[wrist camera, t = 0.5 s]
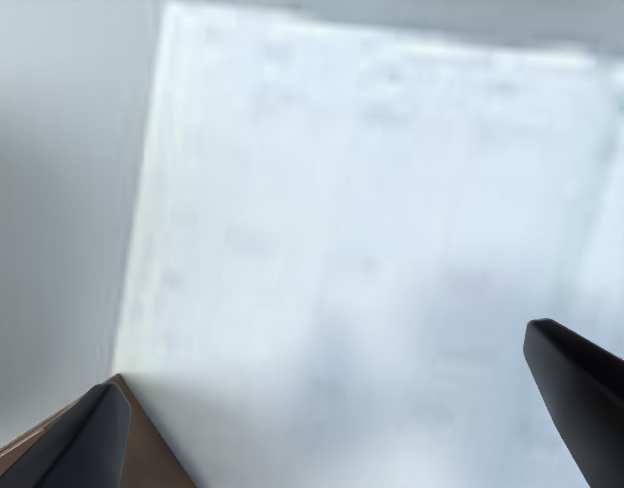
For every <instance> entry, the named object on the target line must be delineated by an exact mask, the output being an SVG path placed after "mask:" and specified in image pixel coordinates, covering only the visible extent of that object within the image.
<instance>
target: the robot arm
mask: <svg viewBox="0 0 624 488" xmlns="http://www.w3.org/2000/svg"><path fill="white" fill-rule="evenodd" d="M523 352H524V356H525V359H526V361H527V364H528V366H529V368H530V370H531V373H532V375H533V377H534V380H535V382H536V384H537V386H538V389H539V391H540V393H541V395H542V398H543V400H544V402H545V405H546V407H547V409H548V411H549V414H550V416H551V418H552V420H553V422H554V424H555V426H556V428H557V430H558V432H559V434H560V436H561V438H562V439H563V441H564V443H565V445H566V446H567V448H568V450H569V451H570V453H571V455H572V457H573V458H574V460H575V462H576V464H577V465H578V467H579V469H580V471H581V472H582V474H583V476H584V478H585V479H586V481H587V483H588V485H589V486H590V488H624V360H622V359H620V358H619V357H617V356H615V355H613V354H612V353H610V352H608V351H606V350H605V349H603V348H601V347H600V346H598V345H596V344H594V343H593V342H591V341H589V340H587V339H586V338H584V337H582V336H580V335H579V334H577V333H575V332H573V331H572V330H570V329H568V328H566V327H565V326H563V325H561V324H559V323H558V322H556V321H554V320H552V319H549V318H543V319H537V320H531V321H529V322H528V324H527V328H526V334H525V340H524V346H523ZM130 419H131V407H130V404H129V402H128V401H127V399H126V398H125V396H124V394H123V393H122V391H121V389H120V388H119V386H118V385H117V384H116V383H114V382H110V383H103V384H97V385H95V386H94V387H92V388H91V389H90V390H89V391H88V392H87V393H86V394H85V395H84V396H83V397H82V398H81V399H80V400H79V401H78V402H77V403H76V404H75V405H73V406H72V407H71V408H70V409H69V410H68V411H67V412H66V413H65V414H64V415H63V416H62V417H61V418H60V419H59V420H58V421H57V422H56V423H55V424H54V425H53V426H52V427H51V428H50V429H49V430H47V431H46V432H45V433H44V434H43V435H42V436H41V437H40V438H39V439H38V440H37V441H36V442H35V443H34V444H33V445H32V446H31V447H30V448H29V449H28V450H27V451H26V452H25V453H24V454H23V455H22V456H20V457H19V458H18V459H17V460H16V461H15V462H14V463H13V464H12V465H11V466H10V467H9V468H8V469H7V470H6V471H5V472H4V473H3V474H2V475H1V476H0V488H119V483H120V478H121V473H122V467H123V461H124V455H125V449H126V443H127V437H128V431H129V425H130Z"/></svg>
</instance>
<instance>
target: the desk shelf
mask: <svg viewBox="0 0 624 488" xmlns="http://www.w3.org/2000/svg"><path fill="white" fill-rule="evenodd" d="M110 382H114V383H116V384H117V385H118V386H119V388H120V389H121V391H122V393H123V394H124V396H125V398H126V399H127V401H128V402H129V404H130V407H131V419H130V425H129V431H128V437H127V443H126V449H125V455H124V461H123V467H122V473H121V478H120V483H119V488H196V487H195V486H194V484H193V483H192V481H191V480H190V478H189V477H188V475H187V474H186V472H185V471H184V469H183V468H182V466H181V465H180V463H179V462H178V461H177V459H176V458H175V456H174V455H173V453H172V452H171V450H170V449H169V447H168V446H167V444H166V443H165V441H164V440H163V439H162V437H161V436H160V434H159V433H158V431H157V430H156V428H155V427H154V425H153V424H152V422H151V421H150V419H149V418H148V416H147V415H146V414H145V412H144V411H143V409H142V408H141V406H140V405H139V403H138V402H137V400H136V399H135V397H134V396H133V394H132V393H131V392H130V390H129V389H128V387H127V386H126V384H125V383H124V381H123V380H122V378H121V377H120V375H119V374H115V375H114V376H112V377H111V378H109V379H108V380H106V381H105V382H103V383H110ZM103 383H102V384H103ZM84 395H85V394H84ZM84 395H83V396H84ZM83 396H81V397H80V398H78V399H77V400H75V401H74V402H72V403H71V404H69V405H67V406H66V407H64V408H63V409H61V410H60V411H58V412H57V413H55V414H54V415H52V416H50V417H49V418H47V419H46V420H44V421H43V422H41V423H40V424H38V425H37V426H35V427H33V428H32V429H30V430H29V431H27V432H26V433H24V434H23V435H21V436H20V437H18V438H16V439H15V440H13V441H12V442H10V443H9V444H7V445H6V446H4V447H3V448H1V449H0V476H1V475H2V474H3V473H4V472H5V471H6V470H7V469H8V468H9V467H10V466H11V465H12V464H13V463H14V462H15V461H16V460H17V459H18V458H19V457H20V456H22V455H23V454H24V453H25V452H26V451H27V450H28V449H29V448H30V447H31V446H32V445H33V444H34V443H35V442H36V441H37V440H38V439H39V438H40V437H41V436H42V435H43V434H44V433H45V432H46V431H47V430H49V429H50V428H51V427H52V426H53V425H54V424H55V423H56V422H57V421H58V420H59V419H60V418H61V417H62V416H63V415H64V414H65V413H66V412H67V411H68V410H69V409H70V408H71V407H72V406H73V405H75V404H76V403H77V402H78V401H79V400H80V399H81V398H82V397H83Z"/></svg>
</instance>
